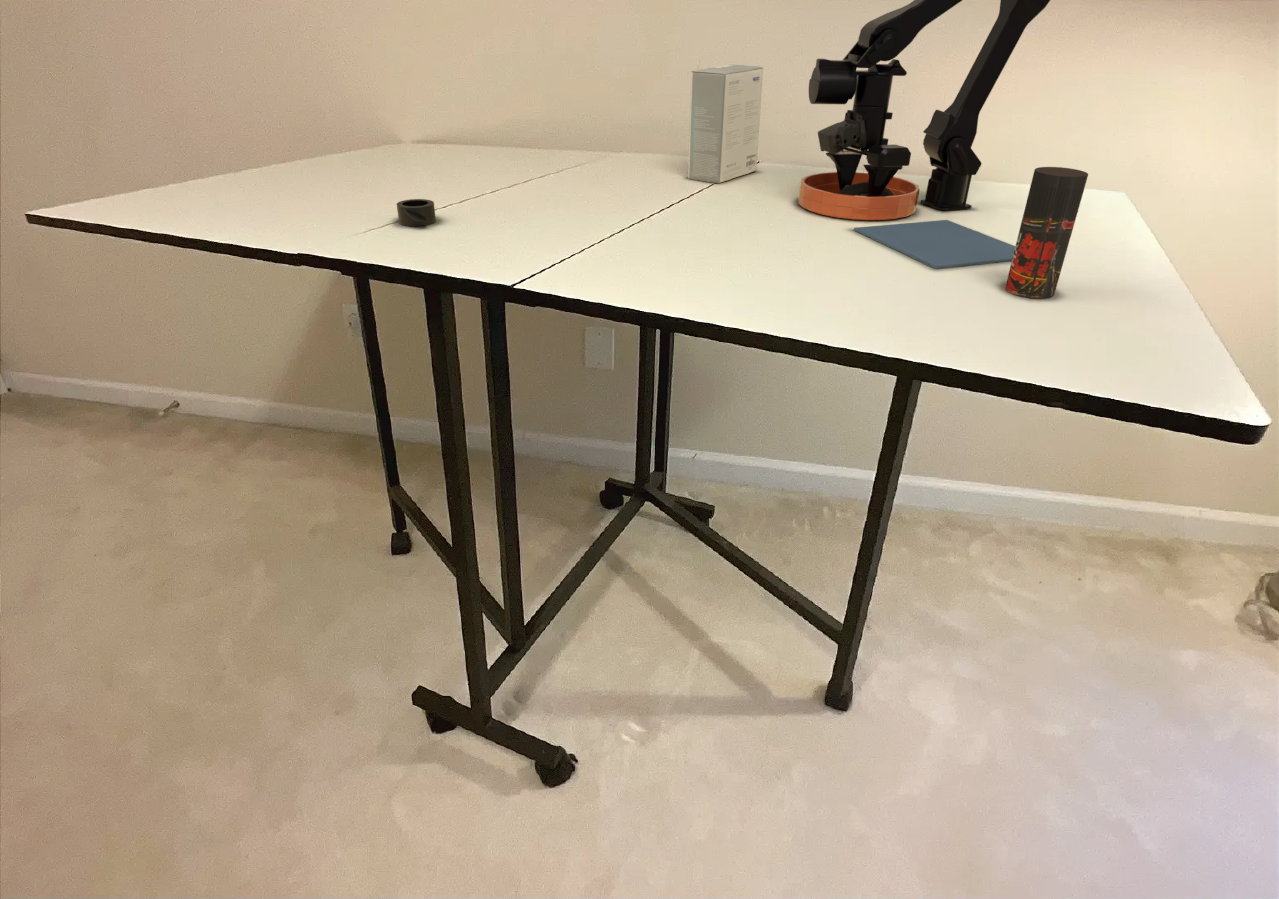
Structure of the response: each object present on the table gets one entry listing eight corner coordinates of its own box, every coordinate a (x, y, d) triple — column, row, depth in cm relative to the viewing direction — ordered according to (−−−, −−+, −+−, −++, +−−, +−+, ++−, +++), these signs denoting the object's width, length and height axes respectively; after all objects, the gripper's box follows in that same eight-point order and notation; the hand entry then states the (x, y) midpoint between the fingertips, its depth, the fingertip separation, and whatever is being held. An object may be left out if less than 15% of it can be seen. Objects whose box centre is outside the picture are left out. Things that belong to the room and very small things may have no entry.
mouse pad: (946, 222, 135) (947, 219, 135) (1038, 258, 118) (1039, 255, 118) (853, 230, 130) (853, 227, 130) (935, 268, 113) (936, 266, 112)
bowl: (872, 190, 154) (876, 169, 152) (939, 216, 138) (944, 192, 136) (778, 197, 149) (780, 175, 147) (836, 225, 132) (839, 200, 130)
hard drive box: (725, 166, 172) (732, 63, 162) (757, 171, 169) (766, 66, 159) (686, 178, 161) (690, 69, 151) (718, 184, 158) (725, 72, 148)
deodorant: (996, 284, 107) (1025, 166, 100) (1039, 283, 108) (1071, 166, 100) (1018, 299, 102) (1050, 176, 95) (1063, 298, 103) (1098, 176, 95)
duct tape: (380, 227, 127) (377, 209, 125) (409, 212, 135) (407, 194, 134) (425, 231, 125) (423, 212, 124) (452, 215, 134) (450, 197, 132)
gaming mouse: (818, 196, 148) (820, 174, 146) (900, 205, 143) (905, 182, 141) (810, 204, 143) (813, 181, 141) (896, 213, 138) (900, 189, 136)
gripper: (800, 99, 140) (790, 192, 148) (860, 112, 125) (845, 214, 132) (855, 98, 143) (843, 189, 151) (920, 111, 128) (903, 211, 136)
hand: (856, 200), depth 142 cm, fingers open, 8 cm apart
